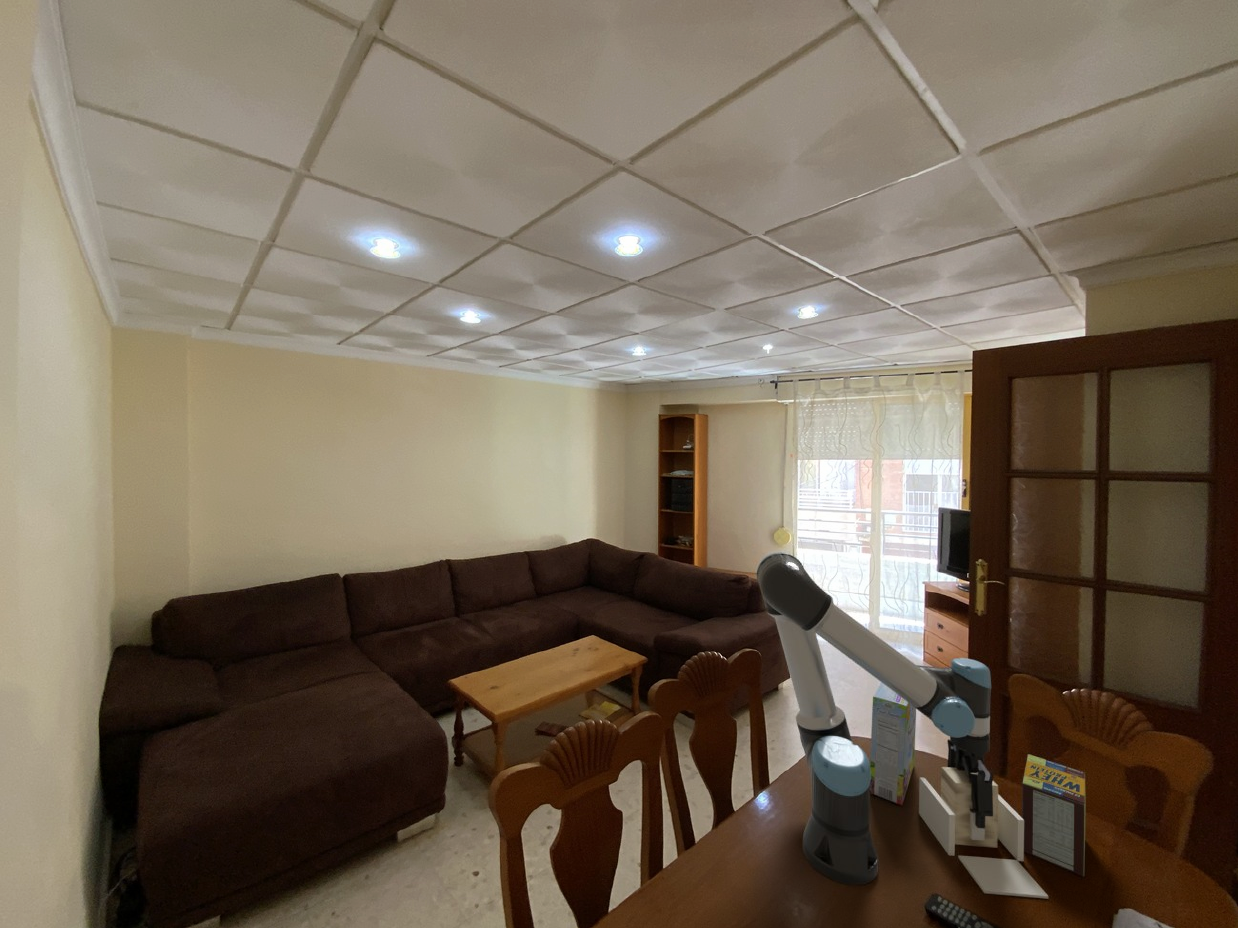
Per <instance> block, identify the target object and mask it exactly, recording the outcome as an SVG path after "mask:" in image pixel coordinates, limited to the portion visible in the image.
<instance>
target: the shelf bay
mask: <svg viewBox="0 0 1238 928" xmlns="http://www.w3.org/2000/svg"><path fill="white" fill-rule="evenodd" d="M918 778H919V779H918V780H919V781H918V782H919V783H918V784H919V785H918V786H919V790H918V791H919V792H918V795H919V796H918V800H919V801H918V814H919V816H920V817H921V818H922V820H923V821H924V822H925V824H926V825H927V827H928V828H929V830H930V831H931V833H932V834H933V836H934V837H935V838H936V840H937V841H938V843H939V844H940V845H941V846H942V848H943V849H944V851H945V852H946V853H947V855H948V856H952V857H953V856H954V857H955V850H956V849H955V846H956V844H955V814H954V813H953V812H952V811H951V809H950V808H949V807H948V806H947V805H946V803H945V802H944V801H943V800H942V798H941V795H939V793H938V792H937V791H936V790H935V789H934V787H933V786H932V784H930V783H929V781H928V780H927V779H926V777H918ZM997 840H998V841H999V842H1001V844H1002V845H1003V846H1004V847H1005V848H1006V849H1007V850H1008V852H1009V853H1010V854H1011V855H1012V856H1013V857H1014V858H1015V860H1017V861H1018V862H1024V860H1025V859H1024V856H1025V855H1024V853H1025V852H1024V820H1023V818H1022V816H1021V815H1019V813H1018V812H1017V811H1016V810H1015V809H1014V808H1013V807H1011V805H1010V804H1009V803H1008V802H1007V801H1006V800H1005V799H1004V798H1003V797H1002V796H1001V795H1000V794H999V793H998V834H997Z"/></svg>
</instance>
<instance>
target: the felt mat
mask: <svg viewBox="0 0 1238 928" xmlns="http://www.w3.org/2000/svg"><path fill="white" fill-rule="evenodd" d="M957 859H959V861H960V862H961V864H962V865H963V867H964V868H965V870H967V872H968V873H969V875H970V876H971V877H972V878H973V880H974V881H975V883H976V884H977V885H978V886H979V888H980V889H981V891H982V892H983V894H989V895H990V894H991V895H1001V896H1014V897H1023V898H1035V899H1036V898H1039V899H1047V900H1049V895H1048V894H1047V892H1045V890H1044V889H1043V888H1042V887H1041V886H1040V885H1039V884H1038V883H1037V881H1036V880H1035V879H1034V878H1033V877H1032V875H1030V873H1029V872H1028V871H1027V870H1026V869H1025V867H1024V866H1022V864H1021V863H1020V861H1017V860H1016V859H1007V858H995V857H993V858H992V857H982V856H972V855H971V856H969V855H959V854H958V857H957Z"/></svg>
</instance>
